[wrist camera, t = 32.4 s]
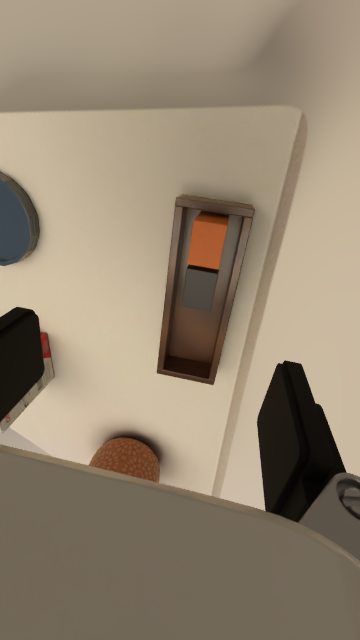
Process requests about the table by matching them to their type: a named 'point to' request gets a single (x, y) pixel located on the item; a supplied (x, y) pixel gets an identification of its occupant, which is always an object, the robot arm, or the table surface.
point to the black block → (199, 287)
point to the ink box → (35, 390)
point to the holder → (210, 326)
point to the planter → (127, 459)
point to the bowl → (16, 223)
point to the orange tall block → (208, 239)
